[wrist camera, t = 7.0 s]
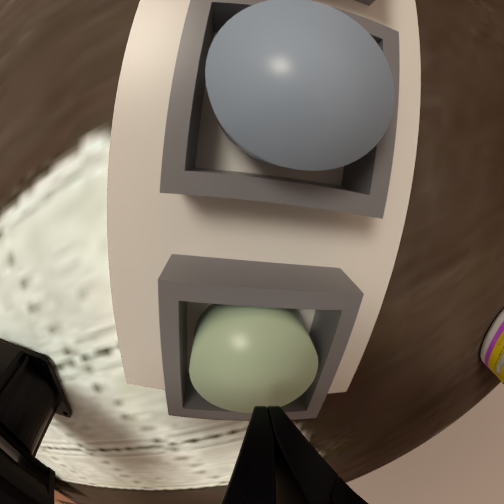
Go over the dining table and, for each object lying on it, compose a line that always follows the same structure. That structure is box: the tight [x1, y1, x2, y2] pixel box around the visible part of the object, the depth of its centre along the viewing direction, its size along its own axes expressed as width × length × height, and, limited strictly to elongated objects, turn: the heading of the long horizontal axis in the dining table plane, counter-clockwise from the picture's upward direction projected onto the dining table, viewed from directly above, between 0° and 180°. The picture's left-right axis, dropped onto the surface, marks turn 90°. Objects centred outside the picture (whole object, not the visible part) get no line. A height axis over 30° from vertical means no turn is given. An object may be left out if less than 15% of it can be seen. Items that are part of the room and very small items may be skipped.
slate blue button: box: [205, 0, 395, 171], centre depth 7 cm, size 5×5×2 cm
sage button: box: [189, 304, 318, 413], centre depth 11 cm, size 5×5×2 cm
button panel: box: [107, 0, 421, 421], centre depth 9 cm, size 29×13×4 cm, turn 173°
